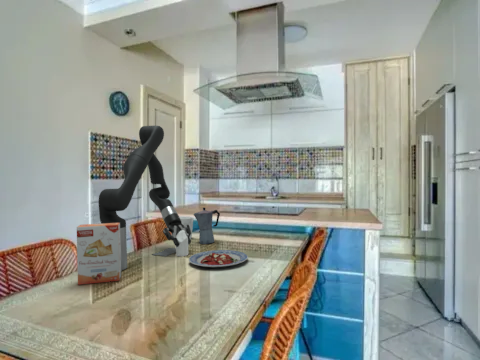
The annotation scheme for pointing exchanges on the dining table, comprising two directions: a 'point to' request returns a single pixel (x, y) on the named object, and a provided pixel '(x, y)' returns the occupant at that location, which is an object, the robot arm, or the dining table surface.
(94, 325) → the dining table surface
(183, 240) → the white peaked cylinder
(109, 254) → the cracker box
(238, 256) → the ceramic plate
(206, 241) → the moka pot
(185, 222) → the foam cup
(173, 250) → the mat
